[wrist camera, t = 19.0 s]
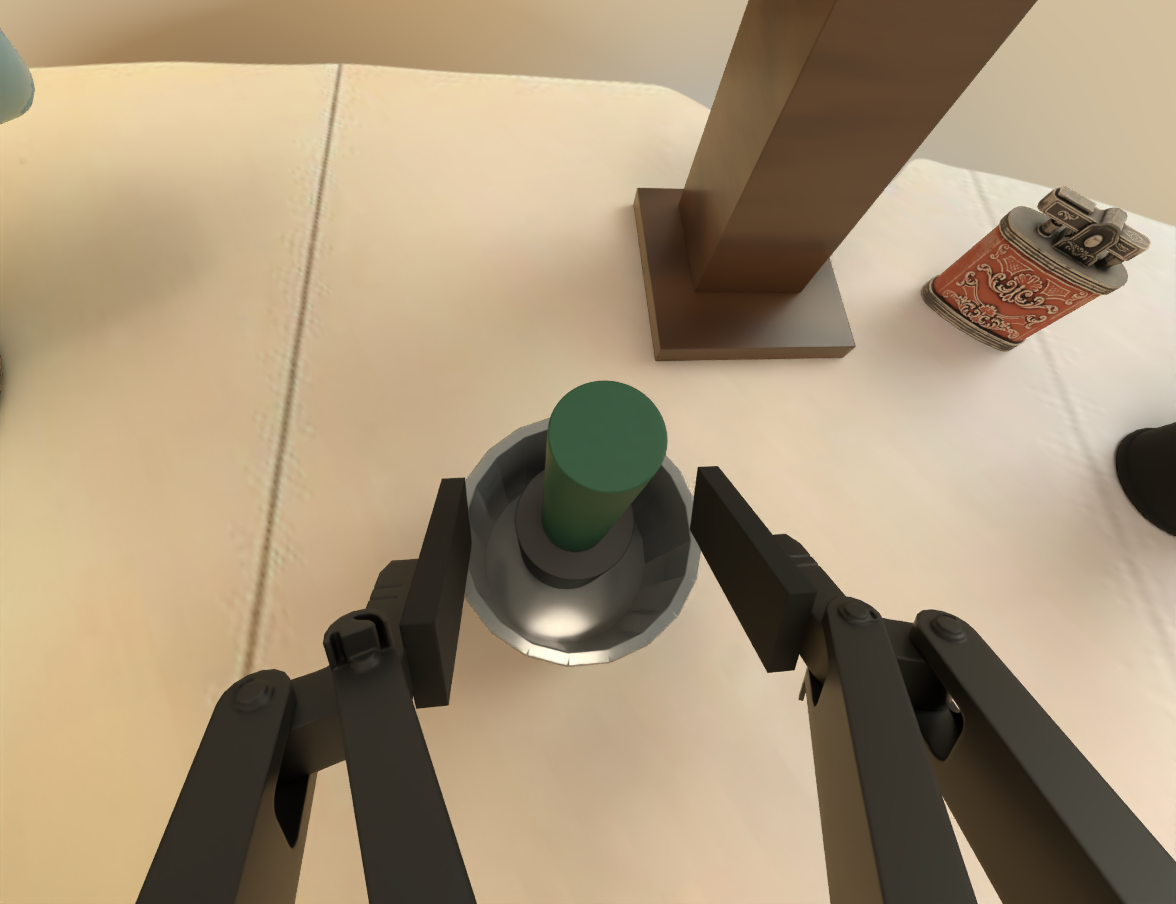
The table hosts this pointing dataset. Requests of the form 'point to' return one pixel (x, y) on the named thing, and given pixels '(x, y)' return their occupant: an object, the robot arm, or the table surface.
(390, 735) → the robot arm
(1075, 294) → the lighter
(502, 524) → the steel cup
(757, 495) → the table surface
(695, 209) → the stand
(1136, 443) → the aerosol can
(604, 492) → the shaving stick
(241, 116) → the table surface
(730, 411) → the table surface
